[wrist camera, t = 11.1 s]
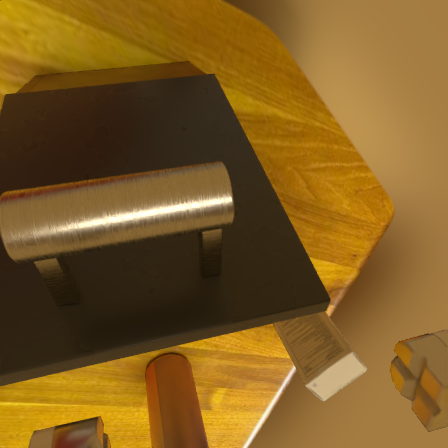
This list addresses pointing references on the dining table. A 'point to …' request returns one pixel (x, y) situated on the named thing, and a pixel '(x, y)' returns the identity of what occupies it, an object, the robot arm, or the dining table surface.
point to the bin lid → (136, 226)
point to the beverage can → (173, 404)
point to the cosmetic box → (320, 353)
